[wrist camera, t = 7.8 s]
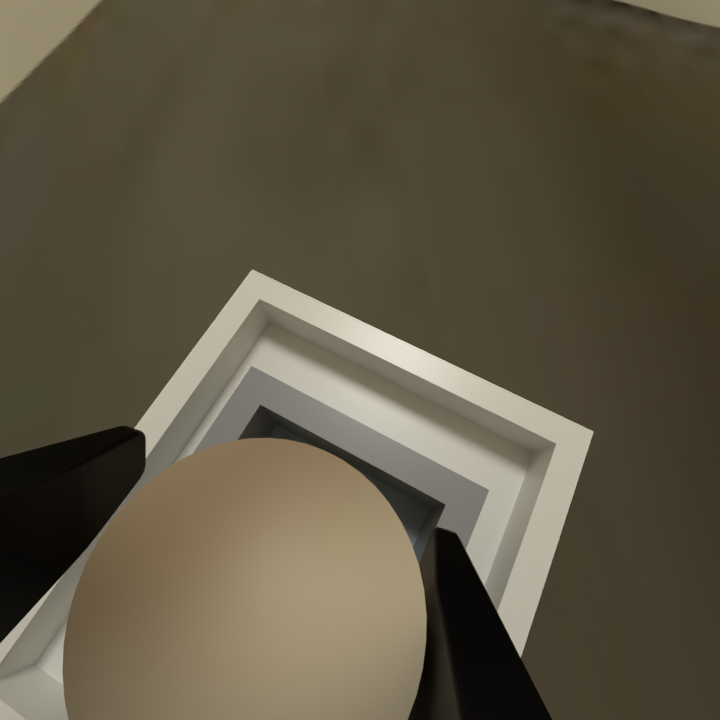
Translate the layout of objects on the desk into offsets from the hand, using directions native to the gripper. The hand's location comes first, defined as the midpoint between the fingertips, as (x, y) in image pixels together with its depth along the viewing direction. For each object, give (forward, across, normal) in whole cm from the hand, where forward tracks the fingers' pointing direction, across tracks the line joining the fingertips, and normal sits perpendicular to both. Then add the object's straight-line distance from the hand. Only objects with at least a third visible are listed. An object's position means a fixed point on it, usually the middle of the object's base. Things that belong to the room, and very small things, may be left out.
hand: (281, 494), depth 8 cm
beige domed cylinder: (+4, 0, +6) cm, 8 cm away
